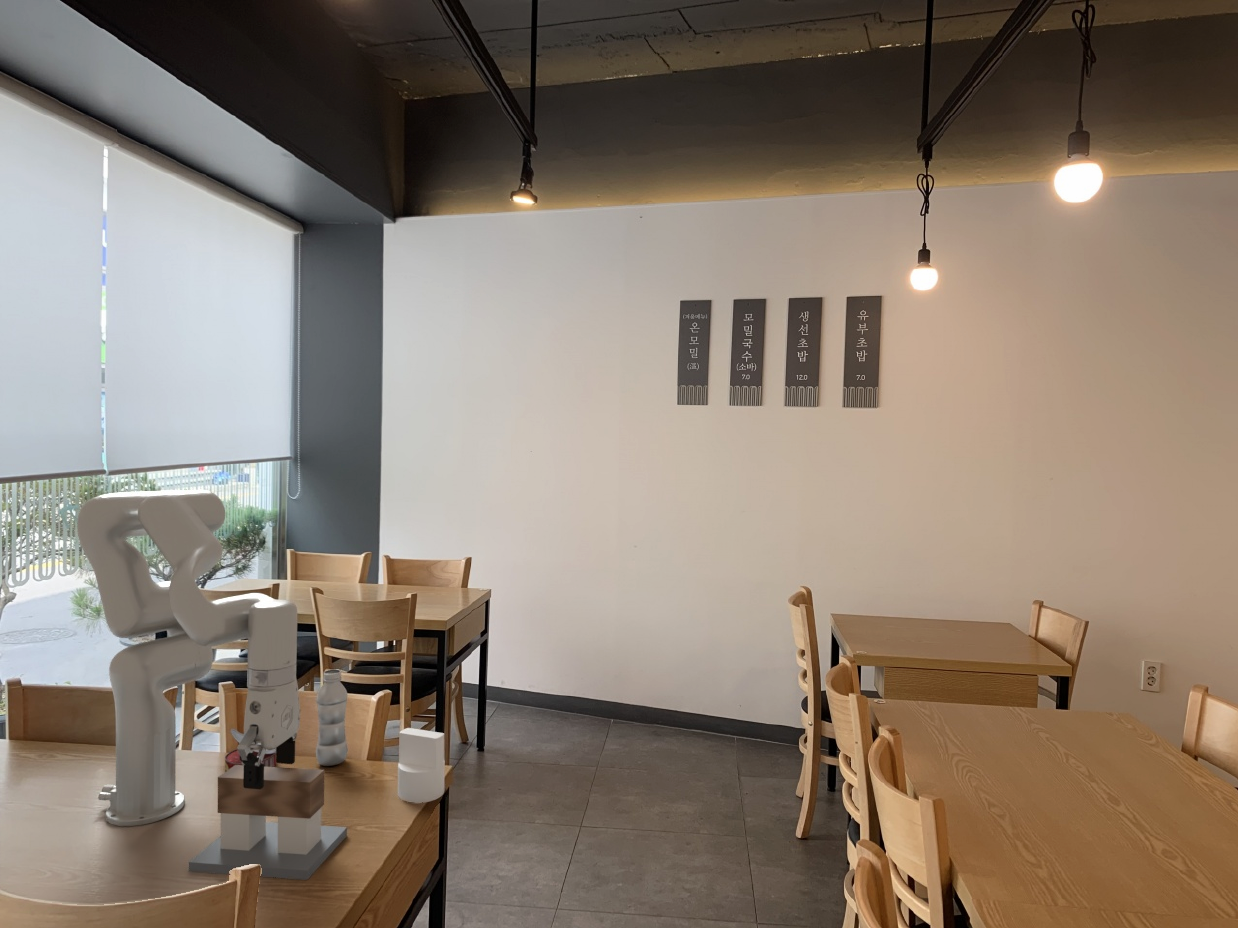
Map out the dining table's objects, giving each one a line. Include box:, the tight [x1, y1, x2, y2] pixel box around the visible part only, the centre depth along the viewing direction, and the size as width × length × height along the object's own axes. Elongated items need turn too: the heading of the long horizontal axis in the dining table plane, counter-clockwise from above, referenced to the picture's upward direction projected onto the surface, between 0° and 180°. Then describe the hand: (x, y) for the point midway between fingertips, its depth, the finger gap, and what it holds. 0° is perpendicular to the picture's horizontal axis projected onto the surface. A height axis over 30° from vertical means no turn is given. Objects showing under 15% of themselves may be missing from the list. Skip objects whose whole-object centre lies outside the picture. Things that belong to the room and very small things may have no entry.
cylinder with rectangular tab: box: [397, 727, 446, 804], centre depth 153 cm, size 9×9×12 cm
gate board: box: [188, 807, 348, 881], centre depth 129 cm, size 20×14×8 cm
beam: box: [217, 765, 325, 819], centre depth 129 cm, size 16×5×6 cm, turn 85°
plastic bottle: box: [315, 668, 348, 767], centre depth 166 cm, size 6×7×20 cm
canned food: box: [224, 728, 277, 773], centre depth 164 cm, size 11×10×10 cm
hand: (270, 774), depth 129 cm, fingers open, 9 cm apart
